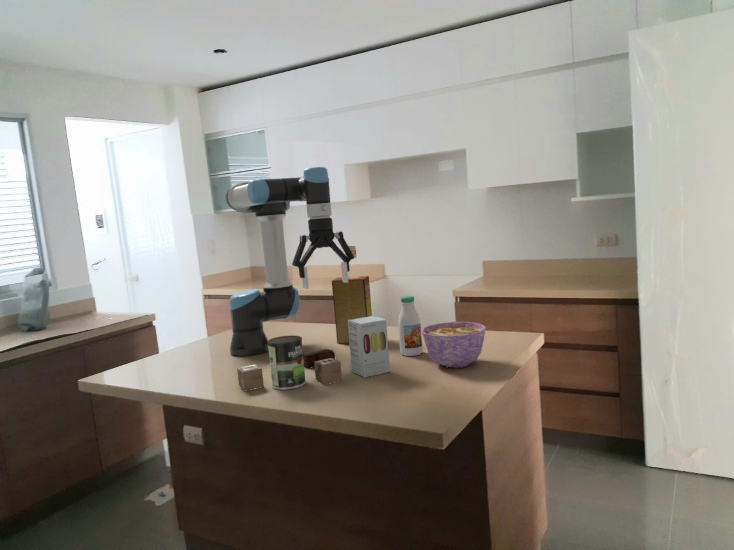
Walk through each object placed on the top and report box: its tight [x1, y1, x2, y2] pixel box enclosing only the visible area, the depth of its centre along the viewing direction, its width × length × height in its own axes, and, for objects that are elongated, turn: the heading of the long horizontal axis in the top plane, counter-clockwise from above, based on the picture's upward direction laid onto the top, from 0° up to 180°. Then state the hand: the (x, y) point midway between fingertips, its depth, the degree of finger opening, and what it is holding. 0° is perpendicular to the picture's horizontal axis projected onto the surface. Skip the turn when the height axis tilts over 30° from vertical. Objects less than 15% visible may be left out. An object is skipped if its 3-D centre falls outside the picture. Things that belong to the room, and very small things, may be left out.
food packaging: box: [331, 275, 373, 344], centre depth 218 cm, size 13×9×25 cm
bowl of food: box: [421, 321, 487, 368], centre depth 175 cm, size 20×20×12 cm
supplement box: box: [348, 315, 391, 379], centre depth 174 cm, size 10×9×17 cm
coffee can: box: [267, 335, 307, 391], centre depth 168 cm, size 10×10×14 cm
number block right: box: [314, 358, 343, 386], centre depth 169 cm, size 6×6×6 cm
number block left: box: [236, 363, 265, 392], centre depth 169 cm, size 6×6×6 cm
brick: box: [303, 348, 336, 369], centre depth 188 cm, size 11×4×5 cm, turn 123°
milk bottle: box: [397, 295, 424, 357], centre depth 191 cm, size 8×8×20 cm
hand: (326, 285), depth 176 cm, fingers open, 13 cm apart
